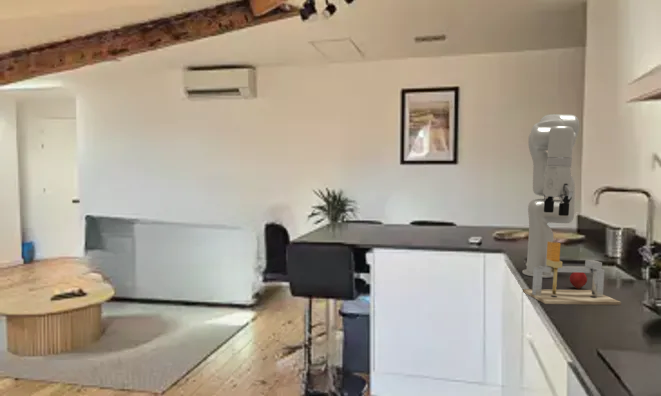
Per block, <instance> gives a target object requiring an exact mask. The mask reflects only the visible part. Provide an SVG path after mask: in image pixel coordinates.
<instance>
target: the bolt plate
mask: <svg viewBox="0 0 661 396" xmlns="http://www.w3.org/2000/svg"><path fill="white" fill-rule="evenodd" d="M522 293H525V294H526V295H528V296H530V297H532V298H533V299H536V300H537V301H539V302H541V303H543V304H544V305H596V306H597V305H598V306H599V305H600V306H601V305H604V306H606V305H607V306H608V305H609V306H621V304H622V301H620V300H617V299H615V298H612V297H610V296H608V295H605V294H603V297H597V296H595V295H593V294H592V289H556V294H552V289H549V288H548V289H543V288H542V289H541V296H535V295H533V294H532V288H531V289H530V288H524V289H523V288H522Z"/></svg>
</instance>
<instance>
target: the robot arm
mask: <svg viewBox="0 0 661 396" xmlns="http://www.w3.org/2000/svg"><path fill="white" fill-rule="evenodd" d="M579 132H580V120H579V118H578V117H577V116H576V115H575V114H570V113H569V114H567V113H566V114H561V113H560V114H556V113H555V114H553V113H552V114H550V113H549V114H546V115H544V116H543V117H542V118H540V120H539V122H536V123H535V124H533V126H532V127H531V131H530V132H529V136H528V149H529V153H530V157H531V159H532V163H533V165H532V166H533V167H532V168H533V169H532V170H533V171H532V191H533V193H534V195H535V196H539V197H541V196H542V197H544V198H535V199H532V200H531V201H530V202H529V203H528V205H527V207H528V208H527V212H528V242H527V257H526V262H525V266H526V269H523V270H522V274H523V275H525V276H529V277H533V271H534V267H539V266H548V265H546V261H547V244H548V242H554V232H553V230H552V228H551V227H550V226H549V224H550V223H551V224H552V223H555V224H570V223H572V221H573V220H574V217H575V193H576V192H575V189H576V187H575V180H574V178H573V176H572V172H571V171H572V170H571V168H572V160H573V149H574V147H575V145H576V141H577V138H578V137H579ZM555 198H558V199H555ZM548 223H549V224H548ZM553 274H554V272H543V274H542V279H543V278H544V279H546V278H547V279H549V278H552V279H553Z"/></svg>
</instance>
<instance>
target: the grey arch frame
mask: <svg viewBox="0 0 661 396" xmlns="http://www.w3.org/2000/svg"><path fill="white" fill-rule="evenodd" d="M602 267H603V262H601V261H598V260H595V259H585V261H584V266H581V265H579V266H573V265H571V266H570V265H568V266H567V265H565V266H564V265H562V268H558V272H557V273H572V272H583V273H585V274H587V273H589V274H591V273H592V282H591V284H592V285H591V290H592V294H593V295H595V296H597V297H603V295H604V283H605V282H604V281H605V272H606V271H605V269H603V268H602ZM543 272H553V273H554V268H553V267H551V266H539V267H534V271H533V276H532V288H531V289H532V294H533V295H535V296H541V289H543V288H542V287H543V278H542V274H543Z"/></svg>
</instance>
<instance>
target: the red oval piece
mask: <svg viewBox="0 0 661 396" xmlns="http://www.w3.org/2000/svg"><path fill="white" fill-rule="evenodd" d="M570 273H571V274H570V275H569V282H570V284H571V285H572V286H573V287H574V288H575V289H576V290H581V289H582V288H583V287H584V286H585V285H586V284H587V282H588V277H587V275H586V273H583V272H570Z"/></svg>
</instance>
